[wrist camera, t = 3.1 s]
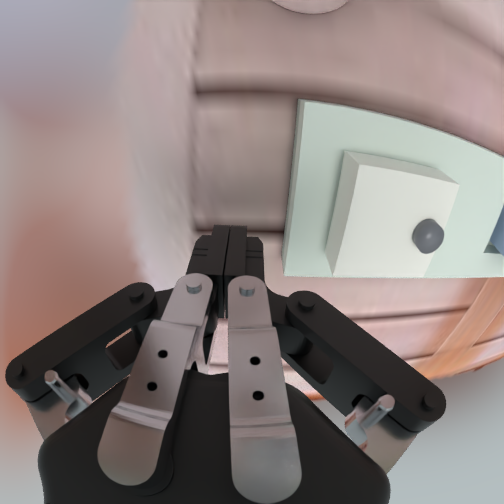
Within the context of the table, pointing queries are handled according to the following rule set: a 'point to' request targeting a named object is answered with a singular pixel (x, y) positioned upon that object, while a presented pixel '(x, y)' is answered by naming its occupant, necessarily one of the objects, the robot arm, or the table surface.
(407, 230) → the lid
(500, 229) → the peg
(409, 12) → the table surface
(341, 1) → the beer glass
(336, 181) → the board
